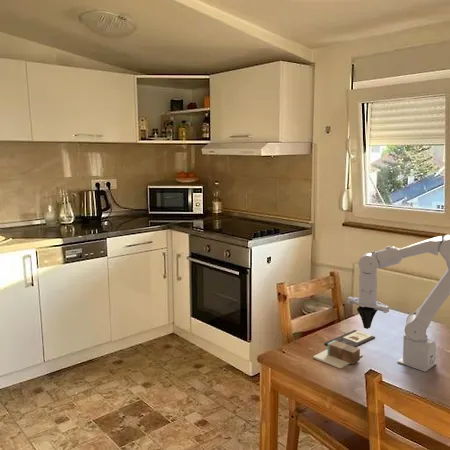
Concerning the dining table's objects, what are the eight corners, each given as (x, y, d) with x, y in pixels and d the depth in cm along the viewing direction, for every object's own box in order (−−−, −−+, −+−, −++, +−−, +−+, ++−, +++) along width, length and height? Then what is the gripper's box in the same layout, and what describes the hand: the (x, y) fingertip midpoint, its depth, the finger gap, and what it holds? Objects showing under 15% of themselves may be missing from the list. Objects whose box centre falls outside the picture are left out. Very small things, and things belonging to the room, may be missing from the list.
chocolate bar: (324, 342, 166) (354, 329, 176) (324, 345, 166) (354, 332, 177) (344, 350, 159) (375, 336, 169) (344, 353, 159) (375, 339, 170)
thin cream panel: (362, 356, 155) (362, 354, 155) (340, 368, 147) (340, 367, 147) (335, 346, 164) (335, 344, 164) (313, 358, 155) (313, 356, 155)
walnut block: (359, 348, 151) (334, 340, 158) (353, 352, 148) (327, 343, 155) (359, 360, 151) (334, 350, 159) (353, 364, 149) (327, 354, 156)
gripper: (342, 287, 155) (342, 325, 157) (381, 296, 144) (380, 337, 146) (354, 282, 160) (353, 319, 162) (392, 291, 149) (391, 330, 151)
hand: (367, 327), depth 154 cm, fingers closed
